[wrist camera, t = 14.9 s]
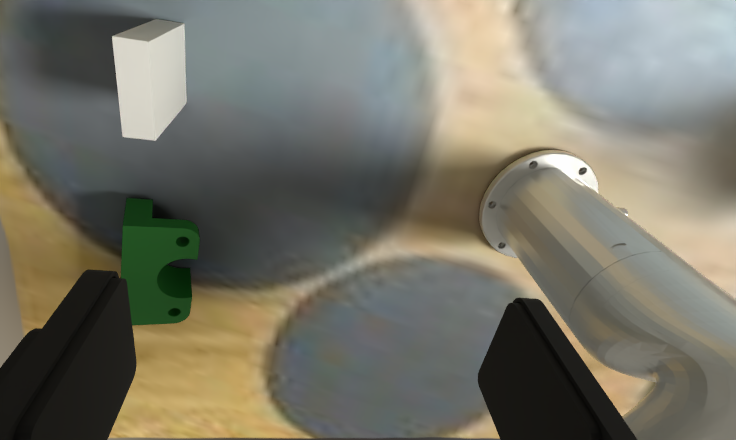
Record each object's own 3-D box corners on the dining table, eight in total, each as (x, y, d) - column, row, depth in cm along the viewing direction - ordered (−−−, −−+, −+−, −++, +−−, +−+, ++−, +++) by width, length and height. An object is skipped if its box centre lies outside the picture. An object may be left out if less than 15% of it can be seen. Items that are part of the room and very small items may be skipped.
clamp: (187, 252, 49) (186, 329, 44) (126, 251, 46) (119, 332, 41) (200, 187, 40) (202, 274, 35) (127, 180, 37) (118, 274, 33)
